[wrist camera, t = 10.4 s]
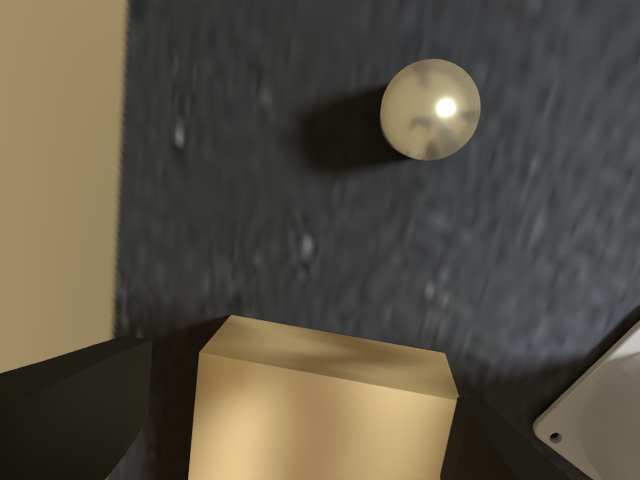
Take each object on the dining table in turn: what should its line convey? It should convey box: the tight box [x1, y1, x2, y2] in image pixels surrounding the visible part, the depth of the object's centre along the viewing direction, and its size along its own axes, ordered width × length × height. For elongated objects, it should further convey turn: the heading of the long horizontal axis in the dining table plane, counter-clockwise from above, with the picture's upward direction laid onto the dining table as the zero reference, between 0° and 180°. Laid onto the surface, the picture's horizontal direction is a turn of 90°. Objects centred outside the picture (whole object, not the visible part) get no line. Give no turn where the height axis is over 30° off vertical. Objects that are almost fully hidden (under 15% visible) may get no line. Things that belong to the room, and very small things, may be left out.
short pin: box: [380, 59, 480, 160], centre depth 17 cm, size 3×3×4 cm
